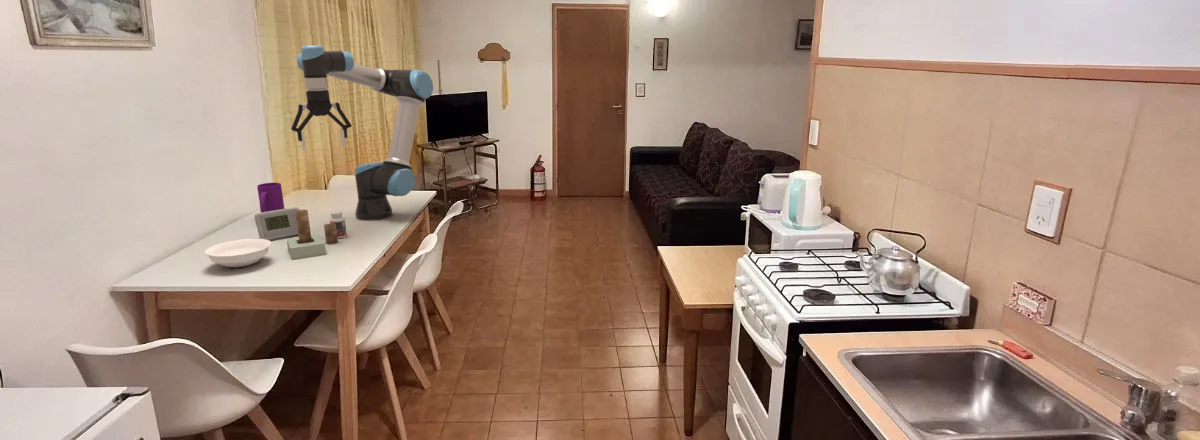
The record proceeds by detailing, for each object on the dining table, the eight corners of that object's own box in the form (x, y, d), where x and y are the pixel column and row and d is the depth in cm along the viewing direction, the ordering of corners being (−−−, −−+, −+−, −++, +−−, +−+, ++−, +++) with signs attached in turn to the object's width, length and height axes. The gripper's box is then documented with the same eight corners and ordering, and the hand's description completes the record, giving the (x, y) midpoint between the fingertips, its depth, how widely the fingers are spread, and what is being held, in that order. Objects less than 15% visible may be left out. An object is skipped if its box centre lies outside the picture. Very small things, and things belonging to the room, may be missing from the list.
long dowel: (312, 249, 231) (306, 209, 227) (313, 252, 228) (308, 211, 224) (300, 251, 229) (294, 210, 225) (301, 254, 226) (295, 213, 222)
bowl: (203, 278, 203) (199, 259, 201) (211, 260, 220) (208, 242, 219) (272, 269, 210) (269, 251, 209) (275, 252, 228) (273, 235, 226)
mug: (288, 215, 280) (284, 182, 276) (276, 224, 265) (271, 189, 262) (266, 216, 279) (261, 182, 275) (253, 225, 264) (247, 190, 260)
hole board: (320, 244, 237) (319, 234, 236) (326, 254, 225) (324, 243, 224) (288, 249, 232) (286, 238, 231) (291, 259, 220) (290, 248, 219)
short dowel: (336, 240, 242) (334, 222, 240) (338, 243, 238) (336, 225, 237) (325, 242, 240) (323, 224, 238) (327, 244, 236) (324, 226, 235)
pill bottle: (329, 239, 244) (326, 214, 241) (334, 235, 249) (331, 210, 247) (344, 238, 244) (341, 214, 242) (348, 234, 249) (346, 210, 247)
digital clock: (258, 243, 240) (254, 215, 237) (257, 237, 247) (253, 210, 245) (305, 236, 247) (302, 210, 245) (303, 231, 255) (299, 205, 252)
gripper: (351, 88, 239) (357, 144, 244) (278, 90, 227) (286, 150, 232) (355, 88, 233) (361, 146, 238) (279, 91, 221) (288, 152, 226)
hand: (324, 148), depth 235 cm, fingers open, 13 cm apart
